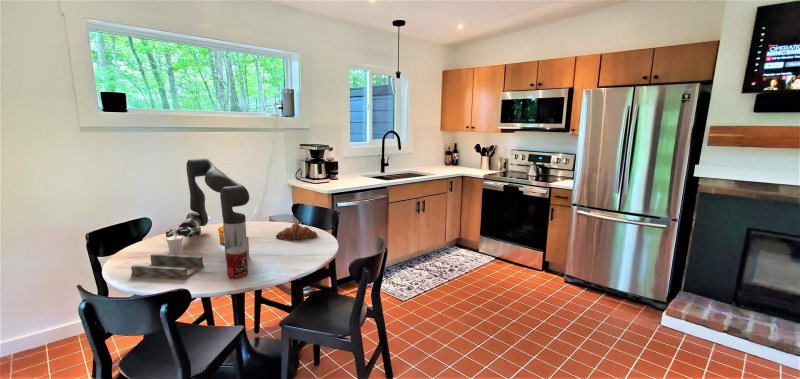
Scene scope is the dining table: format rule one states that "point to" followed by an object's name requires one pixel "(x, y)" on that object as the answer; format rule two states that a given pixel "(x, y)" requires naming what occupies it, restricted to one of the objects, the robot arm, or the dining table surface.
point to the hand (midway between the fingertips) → (179, 236)
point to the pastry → (296, 233)
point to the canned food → (237, 262)
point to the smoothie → (175, 244)
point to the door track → (169, 267)
